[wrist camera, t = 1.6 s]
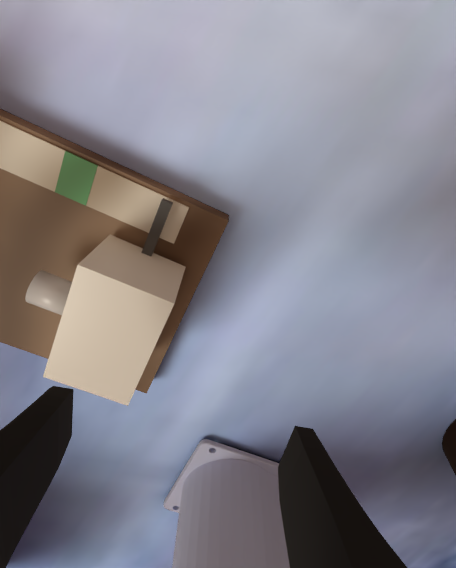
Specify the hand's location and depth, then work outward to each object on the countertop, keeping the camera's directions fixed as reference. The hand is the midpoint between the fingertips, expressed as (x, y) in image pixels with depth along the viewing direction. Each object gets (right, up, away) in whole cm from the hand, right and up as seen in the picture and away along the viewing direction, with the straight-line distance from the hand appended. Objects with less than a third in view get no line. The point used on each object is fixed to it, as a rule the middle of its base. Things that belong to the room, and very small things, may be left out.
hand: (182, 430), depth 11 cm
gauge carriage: (-4, +5, +7) cm, 10 cm away
